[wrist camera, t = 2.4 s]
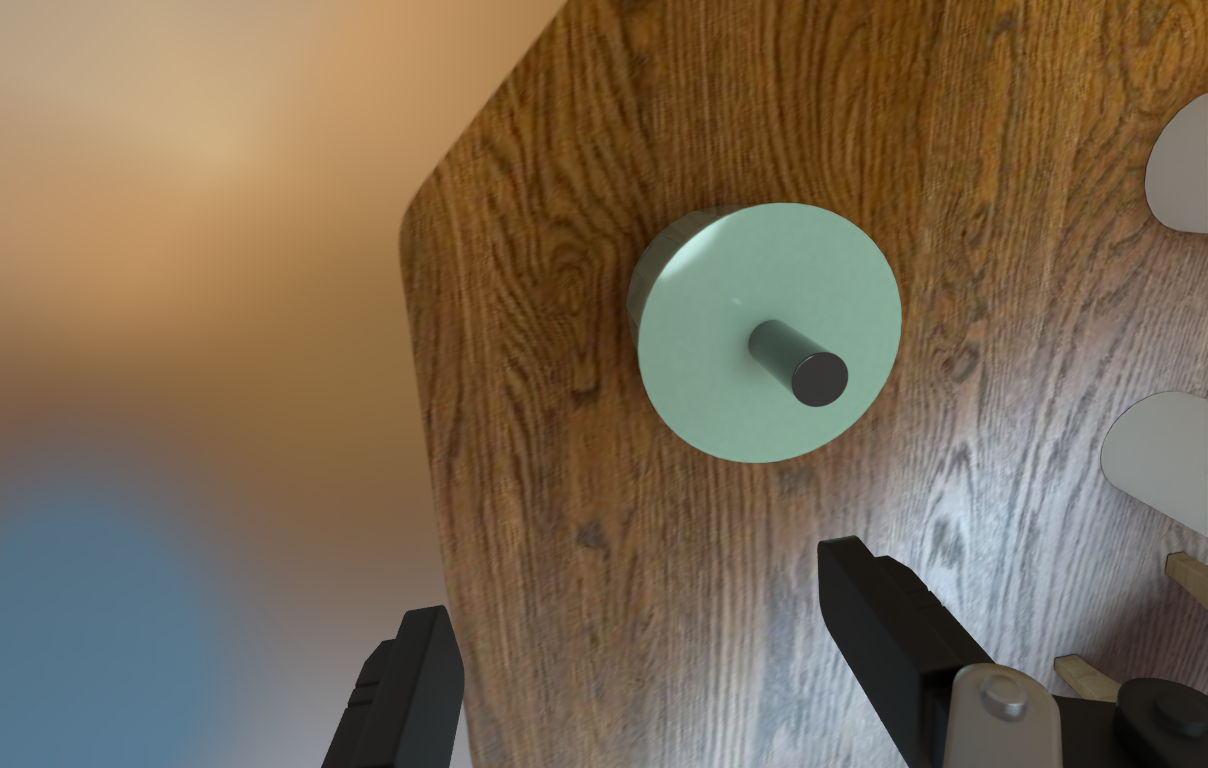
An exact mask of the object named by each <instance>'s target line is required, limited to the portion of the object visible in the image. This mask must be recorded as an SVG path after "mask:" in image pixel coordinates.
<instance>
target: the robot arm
mask: <svg viewBox="0 0 1208 768" xmlns="http://www.w3.org/2000/svg"><path fill="white" fill-rule="evenodd" d="M817 553H818V579H819V601H820V607H821V612H822V615H823V619H824V621H825V624H826V626H827V629H828V631H829V632H830V634H831V636H832V638H833V639H834V641H835V643H836V644H837V646H838V648H839V649H840V651H841V653H842V655H843V656H844V658H845V660H846V661H847V663H848V665H849V666H850V668H851V670H852V672H853V673H854V675H855V677H856V678H857V680H858V682H859V683H860V685H861V687H862V689H863V690H864V692H865V694H866V695H867V697H868V699H869V700H870V702H871V704H872V706H873V707H874V709H875V711H876V712H877V714H878V716H879V717H880V719H881V721H882V723H883V724H884V726H885V728H886V729H887V731H888V733H889V734H890V736H891V738H892V740H893V741H894V743H895V745H896V746H897V748H898V750H899V751H900V753H901V755H902V757H903V758H904V760H905V762H906V763H907V765H908V767H909V768H1208V696H1207V695H1205V694H1203V693H1202V692H1200V691H1197V690H1195V689H1193V688H1191V687H1188V686H1185V685H1182V684H1180V683H1176V682H1172V681H1169V680H1164V679H1158V678H1137V679H1132V680H1130V681H1127V682H1125V683H1124V684H1123V685H1122V686H1121V687H1120V689H1119V690H1118V695H1117V700H1116V702H1107V701H1097V700H1088V699H1078V698H1068V697H1061V696H1056V695H1052V694H1050V693H1049V692H1048V690H1047V689H1046V688H1045V687H1043V686H1042V685H1041V684H1040V683H1039V682H1037V681H1036V680H1034V679H1033V678H1032V677H1030V676H1028V675H1026V674H1024V673H1023V672H1020V671H1018V670H1016V669H1013V668H1010V667H1007V666H1003V665H999V664H996V663H995V662H994V661H993V660H992V659H991V658H990V657H989V656H988V654H987V653H986V652H985V651H984V650H983V649H982V648H981V647H980V645H979V644H978V643H977V642H976V641H975V640H974V639H973V638H972V637H971V635H970V634H969V633H968V632H967V631H966V630H965V629H964V628H963V626H962V625H961V624H960V623H959V622H958V621H957V620H956V619H955V618H954V616H953V615H952V614H951V613H950V612H949V611H948V610H947V609H946V607H945V606H943V607H942V605H941V602H940V601H939V600H938V599H937V597H936V596H935V595H934V594H933V593H932V592H931V591H928V588H927V586H926V585H925V584H924V583H923V582H922V581H921V580H920V578H919V577H918V576H917V575H916V574H915V573H914V572H913V571H912V569H910V568H908V567H907V566H905V565H903V564H901V563H900V562H898V561H896V560H895V559H893V558H891V557H890V556H888V555H886V556H881V557H874V556H873V554H872V553H871V552H870V551H869V550H868V548H867V547H866V546H865V545H864V544H863V542H862V541H861V540H860V539H859V538H858V537H857V536H855V535H854V536H848V537H842V538H836V539H830V540H824V541H820V542H819V543H818V548H817ZM355 685H356V688H355V689H354V690H353V692H352V695H351V697H350V699H349V701H348V708H346V709H345V711H344V714H343V716H342V718H341V721H340V723H339V726H338V728H337V730H336V733H335V735H334V738H333V740H332V742H331V745H330V747H329V750H328V752H327V755H326V757H325V759H324V762H323V764H322V767H321V768H449V765H450V760H451V755H452V750H453V745H454V740H455V735H456V729H457V725H458V720H459V714H460V709H461V704H462V699H463V694H464V667H463V662H462V658H461V655H460V651H459V648H458V645H457V641H456V638H455V635H454V631H453V628H452V625H451V621H450V618H449V615H448V612H447V610H446V608H445V606H443V605H440V606H434V607H428V608H422V609H417V610H410V611H407V612H406V613H405V615H404V617H403V620H402V623H401V625H400V628H399V631H398V634H397V636H396V639H392V640H386V641H382V642H381V644H380V645H379V646H378V647H377V648H376V650H375V651H374V652H373V653H372V654H371V655H370V657H369V658H368V659H367V660H366V661H365V663H364V666H363V668H362V670H361V672H360V675H359V678H358V680H357V682H356V684H355Z"/></svg>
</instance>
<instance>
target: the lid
mask: <svg viewBox="0 0 1208 768" xmlns="http://www.w3.org/2000/svg"><path fill="white" fill-rule="evenodd" d="M901 320H902V318H901V302H900V297H899V292H898V287H897V284H896V281H895V278H894V275H893V273H892V270H891V268H890V266H889V264H888V262H887V261H886V259H885V257H884V255H883V254H882V252H881V251H880V250H879V248H878V247H877V246H876V244H875V243H874V242H873V241H872V240H871V239H870V238H869V237H868V236H867V235H866V234H865V233H864V232H863V231H862V230H861V229H860V228H858V227H857V226H856V225H854V224H853V223H851V222H850V221H849V220H847V219H845V218H843V217H841V216H839V215H837V214H835V213H833V212H831V211H828V210H825V209H822V208H819V207H816V206H811V205H805V204H800V203H784V202H773V203H764V204H756V205H752V206H748V207H744V208H740V209H737V210H735V211H732V212H730V213H727V214H725V215H722V216H720V217H718V218H717V219H715V220H713V221H711V222H709V223H708V224H706V225H704V226H703V227H702V228H700V229H699V230H697V231H696V232H695V233H693V234H692V235H691V236H689V237H688V238H687V239H686V240H685V241H684V242H683V243H682V244H681V245H680V246H679V247H678V248H677V249H676V250H675V251H674V252H673V253H672V254H671V256H670V257H669V258H668V259H667V261H666V262H665V263H664V264H663V266H662V267H661V269H660V271H659V272H658V274H657V275H656V277H655V278H654V280H653V282H652V285H651V287H650V289H649V291H648V293H647V295H646V298H645V301H644V304H643V307H642V310H641V314H640V320H639V325H638V332H637V356H638V365H639V370H640V374H641V378H642V381H643V384H644V387H645V389H646V392H647V395H648V397H649V399H650V401H651V403H652V404H653V406H654V408H655V410H656V412H657V413H658V414H659V416H660V417H661V418H662V420H663V421H664V422H665V424H666V425H667V426H668V427H669V428H670V429H671V430H672V431H673V432H674V433H675V434H676V435H678V436H679V437H680V438H682V439H683V440H684V441H686V442H687V443H688V444H690V445H692V446H694V447H695V448H697V449H699V450H701V451H703V452H705V453H708V454H710V455H713V456H715V457H719V458H722V459H726V460H730V461H737V462H746V463H765V462H774V461H781V460H785V459H789V458H793V457H797V456H799V455H802V454H805V453H807V452H810V451H812V450H814V449H816V448H818V447H820V446H822V445H824V444H826V443H828V442H829V441H831V440H832V439H834V438H836V437H837V436H839V435H840V434H841V433H843V432H844V431H845V430H846V429H848V428H849V427H850V426H851V425H852V424H854V423H855V422H856V420H857V419H858V418H859V417H860V416H861V415H862V414H863V413H864V412H865V411H866V410H867V409H868V407H869V406H870V405H871V404H872V402H873V401H874V400H875V399H876V397H877V395H878V394H879V392H880V390H881V389H882V387H883V386H884V384H885V382H886V380H887V378H888V375H889V373H890V371H891V369H892V366H893V363H894V360H895V357H896V354H897V350H898V345H899V340H900V335H901Z"/></svg>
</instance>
